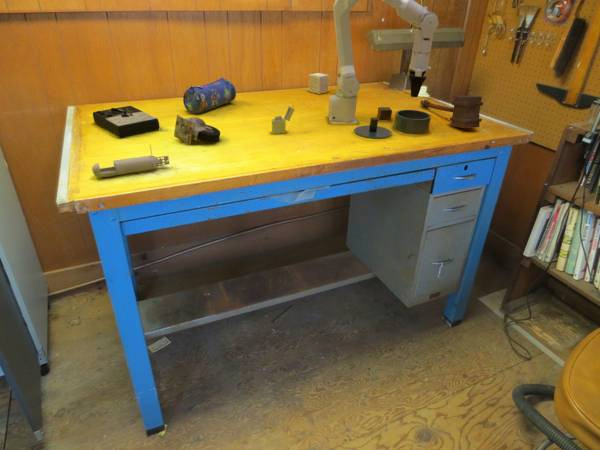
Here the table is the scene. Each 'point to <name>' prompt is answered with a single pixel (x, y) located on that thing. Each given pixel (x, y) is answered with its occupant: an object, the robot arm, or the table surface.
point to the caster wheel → (195, 130)
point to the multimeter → (126, 121)
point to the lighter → (281, 122)
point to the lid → (373, 130)
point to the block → (384, 113)
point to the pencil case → (208, 96)
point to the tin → (412, 121)
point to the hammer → (461, 111)
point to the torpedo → (130, 165)
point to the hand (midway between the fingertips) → (413, 94)
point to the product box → (318, 83)
